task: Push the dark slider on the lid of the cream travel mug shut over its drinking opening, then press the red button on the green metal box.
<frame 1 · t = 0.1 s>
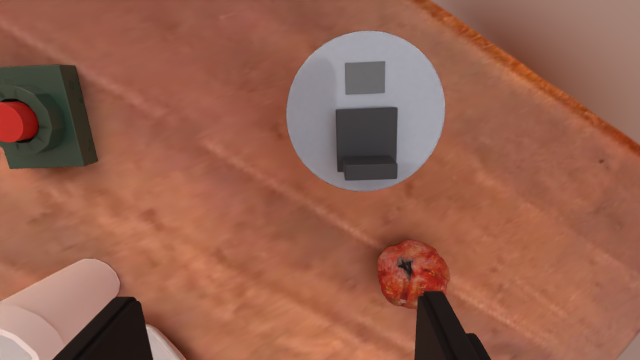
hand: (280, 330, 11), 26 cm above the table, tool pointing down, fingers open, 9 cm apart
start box: (50, 116, 35), on the table
travel mug: (352, 104, 34), on the table
slider: (368, 143, 21), point 14 cm above the table, slide at 4.0 cm
pomegranate: (405, 258, 39), on the table
foam cup: (95, 280, 41), on the table
button: (11, 121, 31), point 4 cm above the table, slide at 0.1 cm
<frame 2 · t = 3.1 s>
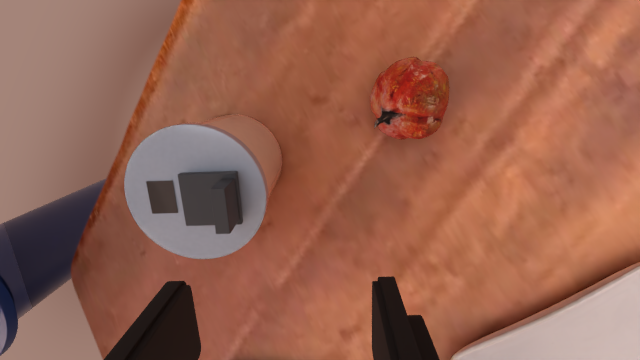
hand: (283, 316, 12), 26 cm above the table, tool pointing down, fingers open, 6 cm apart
travel mug: (237, 160, 37), on the table
slider: (205, 204, 23), point 14 cm above the table, slide at 4.0 cm
pomegranate: (402, 97, 34), on the table
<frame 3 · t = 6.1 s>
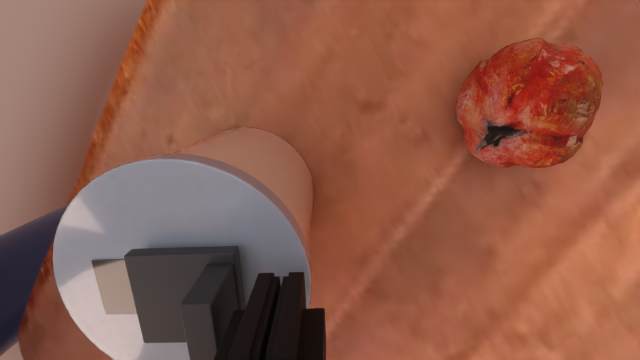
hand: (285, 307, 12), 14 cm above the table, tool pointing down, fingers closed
travel mug: (248, 192, 25), on the table
slider: (176, 316, 12), point 14 cm above the table, slide at 3.1 cm, touching gripper
pomegranate: (495, 102, 23), on the table
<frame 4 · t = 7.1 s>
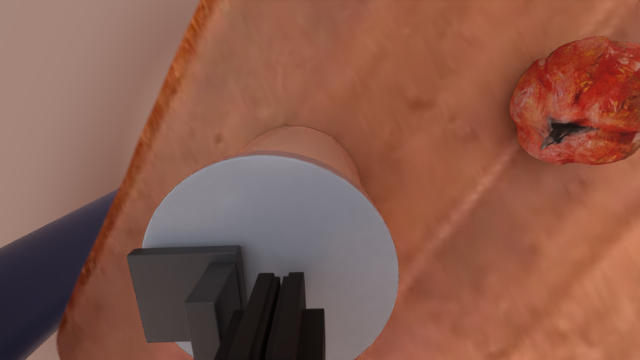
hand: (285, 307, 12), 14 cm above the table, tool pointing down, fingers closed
travel mug: (295, 191, 25), on the table
slider: (179, 315, 12), point 14 cm above the table, slide at -0.5 cm, touching gripper
pomegranate: (544, 100, 23), on the table
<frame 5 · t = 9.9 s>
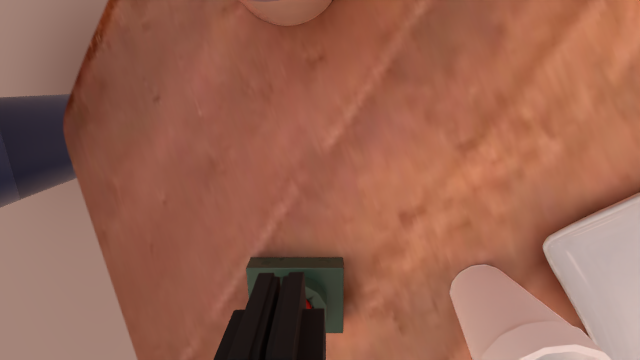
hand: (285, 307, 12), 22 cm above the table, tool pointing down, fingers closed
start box: (297, 289, 37), on the table
foam cup: (477, 288, 37), on the table
button: (293, 316, 33), point 4 cm above the table, slide at 0.1 cm
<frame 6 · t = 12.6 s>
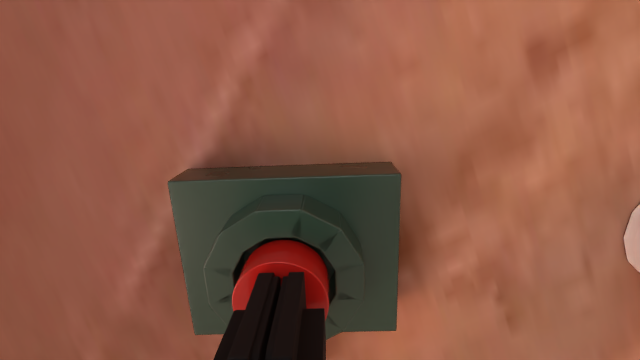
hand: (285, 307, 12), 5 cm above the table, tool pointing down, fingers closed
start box: (293, 239, 17), on the table
button: (283, 290, 13), point 4 cm above the table, slide at 0.0 cm, touching gripper
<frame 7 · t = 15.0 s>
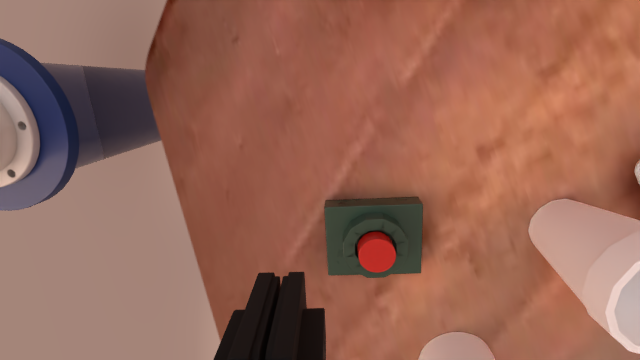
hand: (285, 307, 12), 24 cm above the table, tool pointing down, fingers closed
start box: (371, 232, 37), on the table
foam cup: (557, 225, 36), on the table
button: (376, 251, 33), point 4 cm above the table, slide at 0.1 cm
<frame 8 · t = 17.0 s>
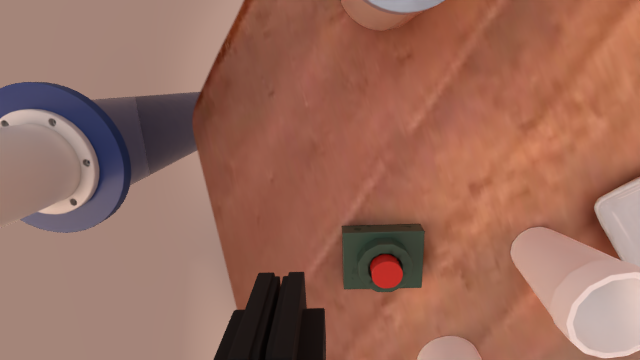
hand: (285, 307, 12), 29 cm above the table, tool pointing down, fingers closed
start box: (380, 252, 44), on the table
foam cup: (534, 248, 43), on the table
button: (386, 271, 39), point 4 cm above the table, slide at 0.1 cm
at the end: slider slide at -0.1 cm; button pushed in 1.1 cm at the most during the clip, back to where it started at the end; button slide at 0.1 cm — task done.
